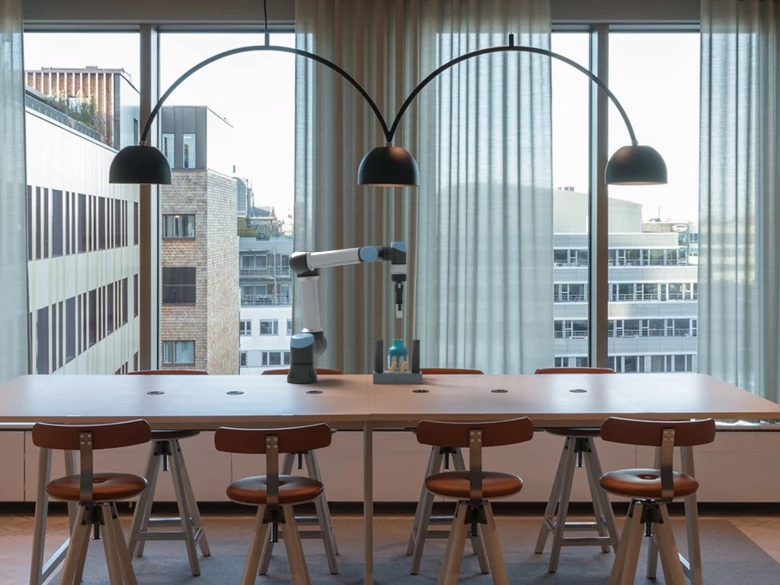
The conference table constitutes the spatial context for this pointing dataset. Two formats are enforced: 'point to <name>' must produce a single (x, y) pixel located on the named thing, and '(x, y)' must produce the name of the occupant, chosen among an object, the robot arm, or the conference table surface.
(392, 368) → the paddle
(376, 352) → the post left
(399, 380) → the gray rectangular base
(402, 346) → the vase
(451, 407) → the conference table surface
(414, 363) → the post right
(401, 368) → the paddle
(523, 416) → the conference table surface
